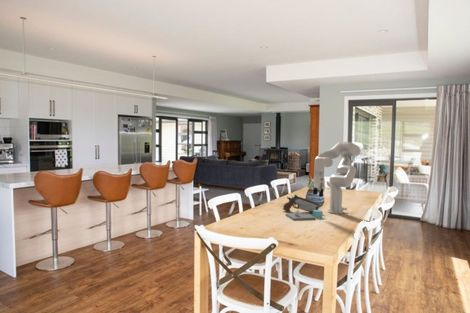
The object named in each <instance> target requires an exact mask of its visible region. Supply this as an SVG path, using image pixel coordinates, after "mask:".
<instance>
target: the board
mask: <svg viewBox="0 0 470 313" xmlns="http://www.w3.org/2000/svg"><path fill="white" fill-rule="evenodd" d="M285 216H286V217H287V218H289V219H291V220H292V221H312V220H313V221H314V220H316V219H317V218H316V217H314V216H313V214H310V213H308V212H300V209H295V210H294V213H293V212H287V213H285Z"/></svg>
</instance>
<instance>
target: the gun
mask: <svg viewBox="0 0 470 313" xmlns="http://www.w3.org/2000/svg"><path fill="white" fill-rule="evenodd" d="M286 198H287V200H288V202H286V203H284V204H283V207H282V210H283V211H286V212H287V213H291V209H292V207H293V208H294V209H295V210H302V211H304V212H307V213H308V212H309V213H311V214H313V210H320V204H319V203H318V202H316V201H312V200H310V199H307V198H303V197H301V196H298V194H294V196H292V197H289V196H287V197H286ZM296 205H297V206H296Z"/></svg>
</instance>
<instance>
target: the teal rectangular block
mask: <svg viewBox="0 0 470 313" xmlns="http://www.w3.org/2000/svg"><path fill="white" fill-rule="evenodd" d="M312 216H314V217H316V219H323V211H322V210H321V209H318V210H313V213H312Z"/></svg>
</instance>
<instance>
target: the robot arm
mask: <svg viewBox="0 0 470 313" xmlns="http://www.w3.org/2000/svg"><path fill="white" fill-rule="evenodd" d="M360 153H361V148H360V146H358V145H357V144H355V143H353V142H351V141H339V142H336V144H335V145H334V146H333V147H332V148H330V149H328V150H326V151H323V152H321V153H319V154H318V155H317V156H316V157H315V158H314V167H313V169H314V170H313V183H312V190H313V193H312V195H318V196H319V197H320V198H321V197H324V192H325V187H326V186H325V168H329V167H332V166H333V164H334V161H333V159H337V158H339V157H340V161H339V164H338V165H337V167H336V170H335V173H336V174H332V175H330V177H329V187H330V192H329V194H330V195H329V196H330V197H329V209H328V210H327V213H329V214H334V215H335V214H336V215H343V214H344V211H348V207H343V189H342V188H349V187H351V185H352V183H353V182H354V179H355V176H356V173H357V168H356V166H354V165H352V160H351V158H350V157H349V156H351V157H357V156H359V155H360ZM318 190H319V191H318Z"/></svg>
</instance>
